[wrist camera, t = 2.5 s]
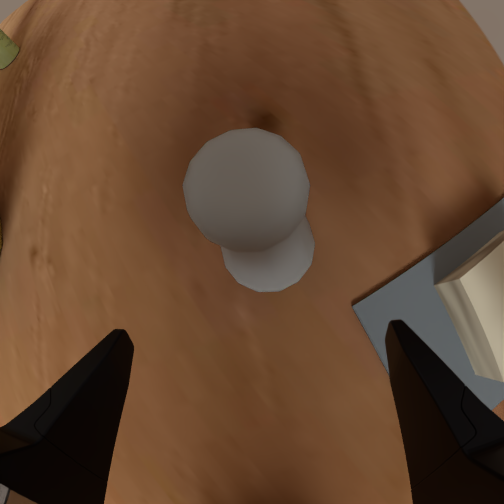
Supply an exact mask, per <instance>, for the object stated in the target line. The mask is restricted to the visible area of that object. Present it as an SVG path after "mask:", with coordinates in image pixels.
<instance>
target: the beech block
mask: <svg viewBox="0 0 504 504" xmlns="http://www.w3.org/2000/svg"><path fill="white" fill-rule="evenodd" d="M434 287H435V289H436V291H437V292H438V294H439V296H440V298H441V300H442V302H443V304H444V306H445V308H446V310H447V312H448V314H449V316H450V318H451V320H452V322H453V325H454V327H455V329H456V331H457V333H458V335H459V337H460V340H461V342H462V344H463V346H464V349H465V351H466V353H467V356H468V358H469V360H470V363H471V365H472V367H473V370H474V372H475V375H478V376H482V377H486V378H489V379H493V380H497V381H500V382H504V230H503V231H501V232H499V233H498V234H497V235H496V236H495V237H493V238H492V239H491V240H490V241H489V242H488V243H487V244H485V245H484V246H483V247H482V248H481V249H479V250H478V251H477V252H476V253H475V254H473V255H472V256H471V257H470V258H469V259H467V260H466V261H465V262H464V263H462V264H461V265H460V266H459V267H457V268H456V269H455V270H454V271H452V272H451V273H450V274H448V275H447V276H446V277H444V278H443V279H442V280H441V281H439V282H438V283H437V284H435V285H434Z"/></svg>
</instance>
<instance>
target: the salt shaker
mask: <svg viewBox="0 0 504 504" xmlns="http://www.w3.org/2000/svg"><path fill="white" fill-rule="evenodd" d="M182 186H183V191H184V196H185V201H186V207H187V211H188V213H189V216H190V218H191V219H192V221H193V222H194V223H195V224H196V226H197V227H198V228H199V230H200V231H201V232H202V233H203V235H204V236H205V237H206V238H207V239H208V240H210V241H211V242H213V243H215V244H218V245H220V246H221V250H222V254H223V258H224V263H225V267H226V268H227V270H228V271H229V272H230V273H231V275H232V276H233V277H234V278H235V280H236V281H237V282H238V283H239V284H241V285H244V286H246V287H248V288H250V289H252V290H255V291H257V292H277V291H281V290H283V289H285V288H287V287H289V286H291V285H293V284H295V283H296V282H298V281H299V280H300V279H301V277H302V276H303V275H304V273H305V272H306V271H307V269H308V268H309V267H310V265H311V264H312V258H313V252H314V246H315V242H314V238H313V235H312V231H311V228H310V224H309V222H308V220H307V218H306V216H305V213H306V208H307V202H308V196H309V189H310V183H309V180H308V177H307V174H306V171H305V168H304V165H303V162H302V159H301V156H300V153H299V152H298V151H297V150H296V149H295V148H294V147H292V146H291V145H290V144H289V143H288V142H287V141H286V140H285V139H284V138H283V137H281V136H280V135H277V134H274V133H271V132H268V131H265V130H262V129H259V128H247V129H237V130H230V131H228V132H226V133H223V134H221V135H219V136H217V137H215V138H213V139H211V140H209V141H207V142H206V143H205V144H204V146H203V147H202V148H201V149H200V150H199V151H198V153H197V154H196V155H195V156H194V157H193V158H192V160H191V161H190V163H189V166H188V169H187V173H186V176H185V179H184V182H183V185H182Z"/></svg>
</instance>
